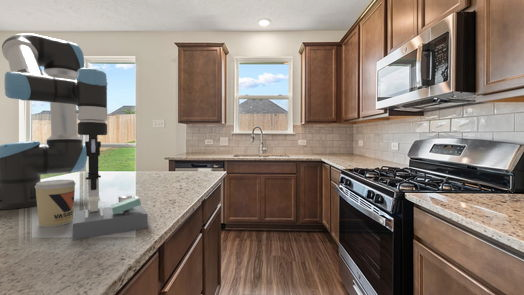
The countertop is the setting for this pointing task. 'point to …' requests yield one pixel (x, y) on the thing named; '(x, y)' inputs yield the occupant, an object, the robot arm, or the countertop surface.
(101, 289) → the countertop surface
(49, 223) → the coffee cup
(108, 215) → the console
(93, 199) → the slider
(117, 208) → the block
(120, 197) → the plunger
